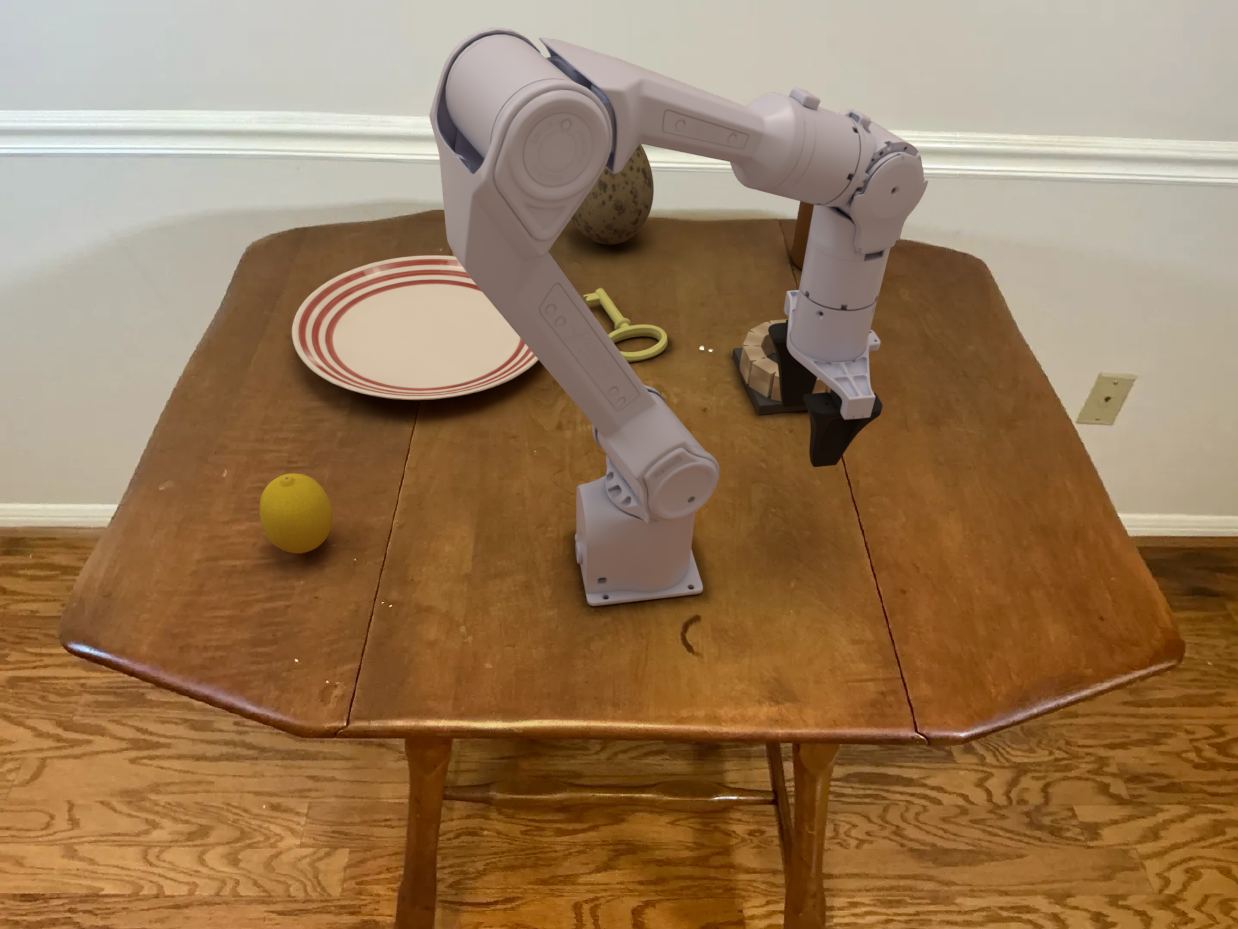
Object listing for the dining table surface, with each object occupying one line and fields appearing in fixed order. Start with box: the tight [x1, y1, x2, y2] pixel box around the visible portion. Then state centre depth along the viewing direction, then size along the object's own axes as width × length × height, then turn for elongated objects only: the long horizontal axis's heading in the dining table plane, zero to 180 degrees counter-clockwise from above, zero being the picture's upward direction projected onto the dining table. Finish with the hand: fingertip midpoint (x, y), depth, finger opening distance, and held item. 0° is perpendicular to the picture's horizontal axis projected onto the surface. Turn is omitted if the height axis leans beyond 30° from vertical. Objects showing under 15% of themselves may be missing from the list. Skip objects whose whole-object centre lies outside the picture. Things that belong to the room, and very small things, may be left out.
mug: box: [791, 201, 814, 271], centre depth 113 cm, size 12×8×9 cm, turn 1°
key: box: [582, 287, 668, 363], centre depth 104 cm, size 7×12×2 cm, turn 43°
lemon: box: [259, 472, 333, 554], centre depth 77 cm, size 6×6×8 cm
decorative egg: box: [570, 144, 655, 245], centre depth 115 cm, size 11×11×15 cm
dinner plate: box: [291, 255, 539, 401], centre depth 101 cm, size 28×27×3 cm
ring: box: [740, 318, 831, 402], centre depth 97 cm, size 11×11×3 cm
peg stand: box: [731, 347, 808, 416], centre depth 97 cm, size 10×10×6 cm
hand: (808, 432), depth 78 cm, fingers open, 7 cm apart
